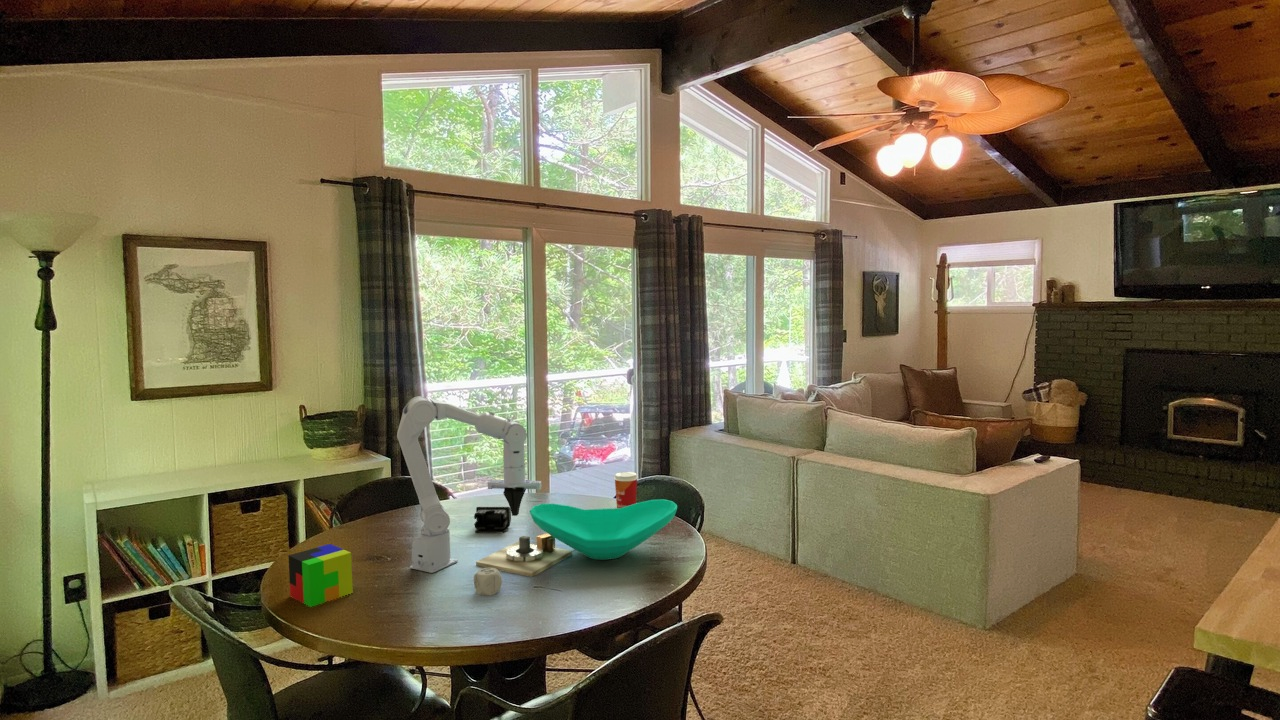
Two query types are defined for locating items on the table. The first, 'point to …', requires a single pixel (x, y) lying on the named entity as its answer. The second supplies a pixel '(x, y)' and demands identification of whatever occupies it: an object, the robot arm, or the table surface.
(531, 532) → the table surface
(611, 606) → the table surface
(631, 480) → the paper cup
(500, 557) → the board
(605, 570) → the table surface
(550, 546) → the dowel
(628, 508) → the table top decor
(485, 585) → the die
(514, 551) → the flange
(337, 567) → the puzzle toy
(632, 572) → the table surface
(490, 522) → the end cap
